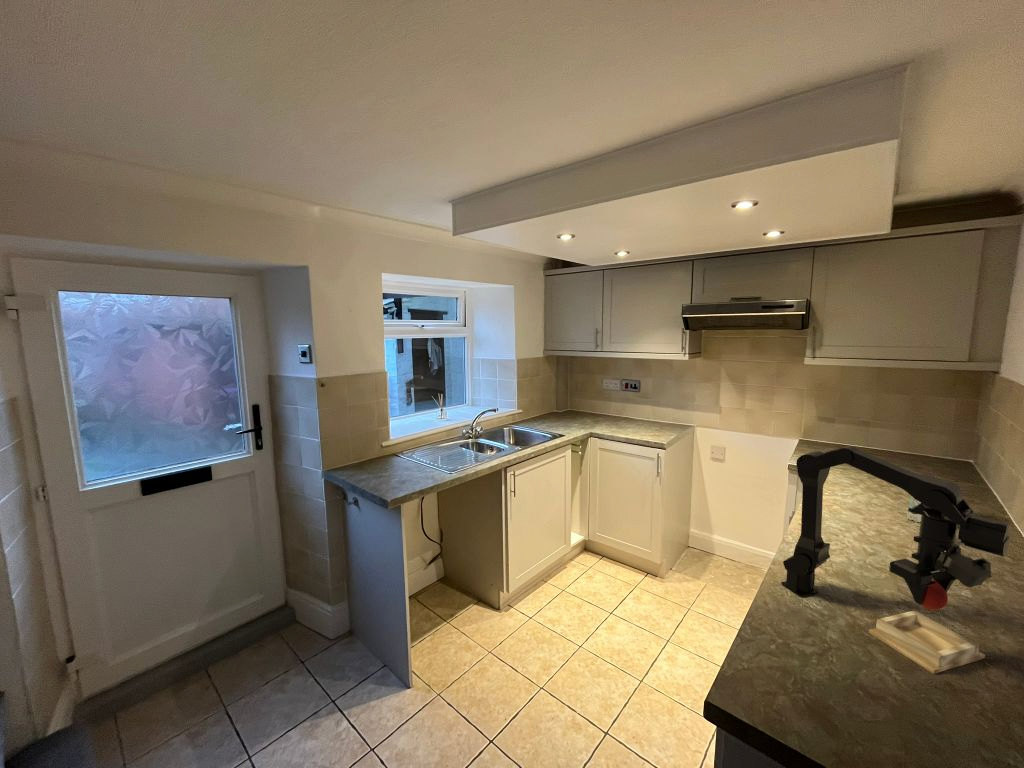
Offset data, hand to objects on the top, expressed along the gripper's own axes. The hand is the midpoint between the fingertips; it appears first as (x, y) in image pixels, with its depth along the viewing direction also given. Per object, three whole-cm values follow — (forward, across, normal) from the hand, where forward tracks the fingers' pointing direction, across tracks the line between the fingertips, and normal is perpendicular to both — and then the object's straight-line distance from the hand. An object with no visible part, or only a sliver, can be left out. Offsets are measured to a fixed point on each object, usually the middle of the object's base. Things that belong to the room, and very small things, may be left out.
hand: (928, 601), depth 98 cm
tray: (+11, 0, 0) cm, 11 cm away
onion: (+2, 0, 0) cm, 2 cm away
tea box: (+11, +79, +46) cm, 92 cm away
